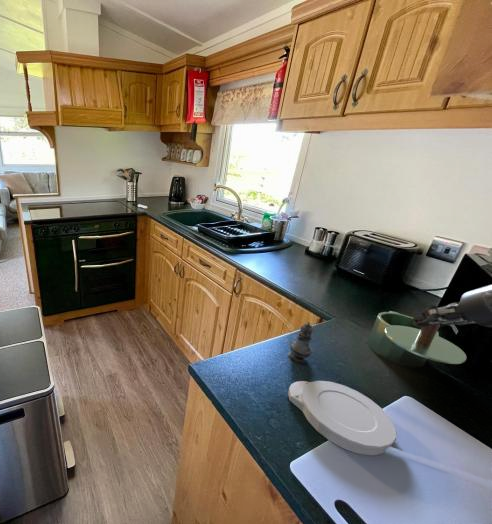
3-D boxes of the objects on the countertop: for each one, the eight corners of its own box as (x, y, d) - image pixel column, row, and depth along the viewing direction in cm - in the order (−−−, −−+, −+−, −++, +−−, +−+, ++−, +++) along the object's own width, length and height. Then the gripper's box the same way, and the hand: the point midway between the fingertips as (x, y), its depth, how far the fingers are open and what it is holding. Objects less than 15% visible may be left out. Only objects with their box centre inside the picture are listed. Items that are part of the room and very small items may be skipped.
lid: (303, 373, 77) (305, 364, 76) (398, 425, 63) (403, 415, 62) (273, 406, 66) (276, 396, 65) (381, 477, 52) (387, 465, 51)
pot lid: (443, 338, 74) (459, 306, 71) (480, 374, 61) (501, 338, 58) (375, 323, 79) (387, 293, 76) (396, 354, 66) (411, 319, 63)
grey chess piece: (283, 357, 83) (293, 321, 79) (290, 348, 87) (301, 314, 83) (305, 367, 79) (317, 330, 75) (312, 358, 83) (323, 322, 79)
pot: (408, 343, 94) (421, 315, 91) (437, 380, 78) (455, 348, 74) (359, 331, 99) (369, 304, 95) (377, 365, 82) (390, 333, 79)
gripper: (477, 320, 53) (398, 337, 69) (552, 324, 53) (456, 340, 69) (460, 281, 56) (388, 306, 72) (531, 286, 56) (444, 309, 72)
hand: (422, 323), depth 70 cm, fingers closed on pot lid, 2 cm apart
